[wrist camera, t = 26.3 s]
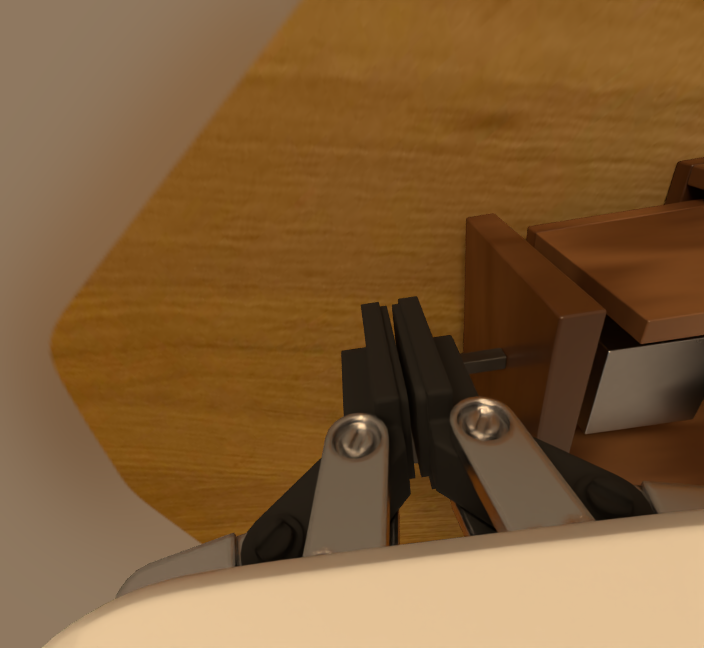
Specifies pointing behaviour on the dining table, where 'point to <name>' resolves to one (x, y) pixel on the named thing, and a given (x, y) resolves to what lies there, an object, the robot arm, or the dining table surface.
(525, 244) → the drawer
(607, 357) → the block
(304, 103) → the dining table surface
